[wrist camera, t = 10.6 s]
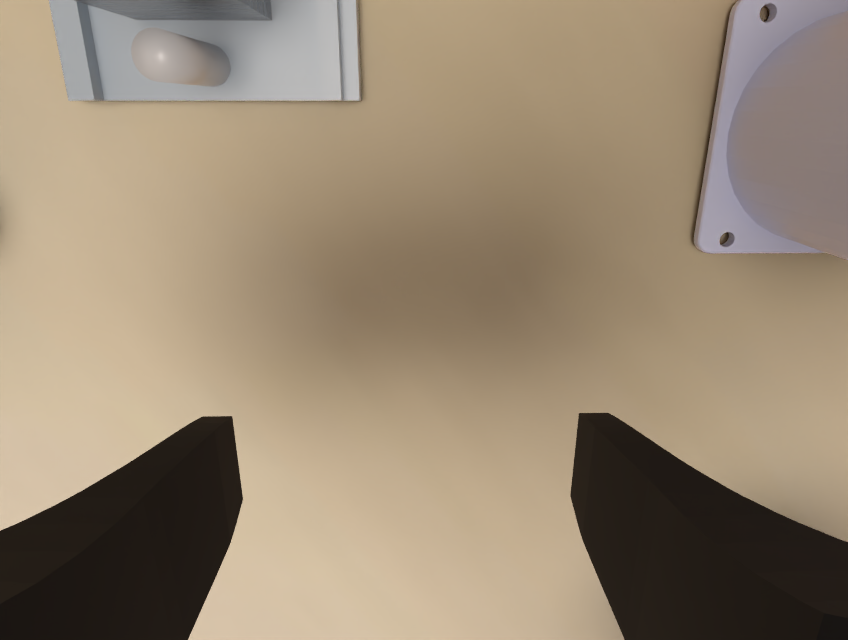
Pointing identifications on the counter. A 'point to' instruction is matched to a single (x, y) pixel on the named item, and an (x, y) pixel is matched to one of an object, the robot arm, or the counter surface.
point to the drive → (187, 9)
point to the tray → (211, 55)
